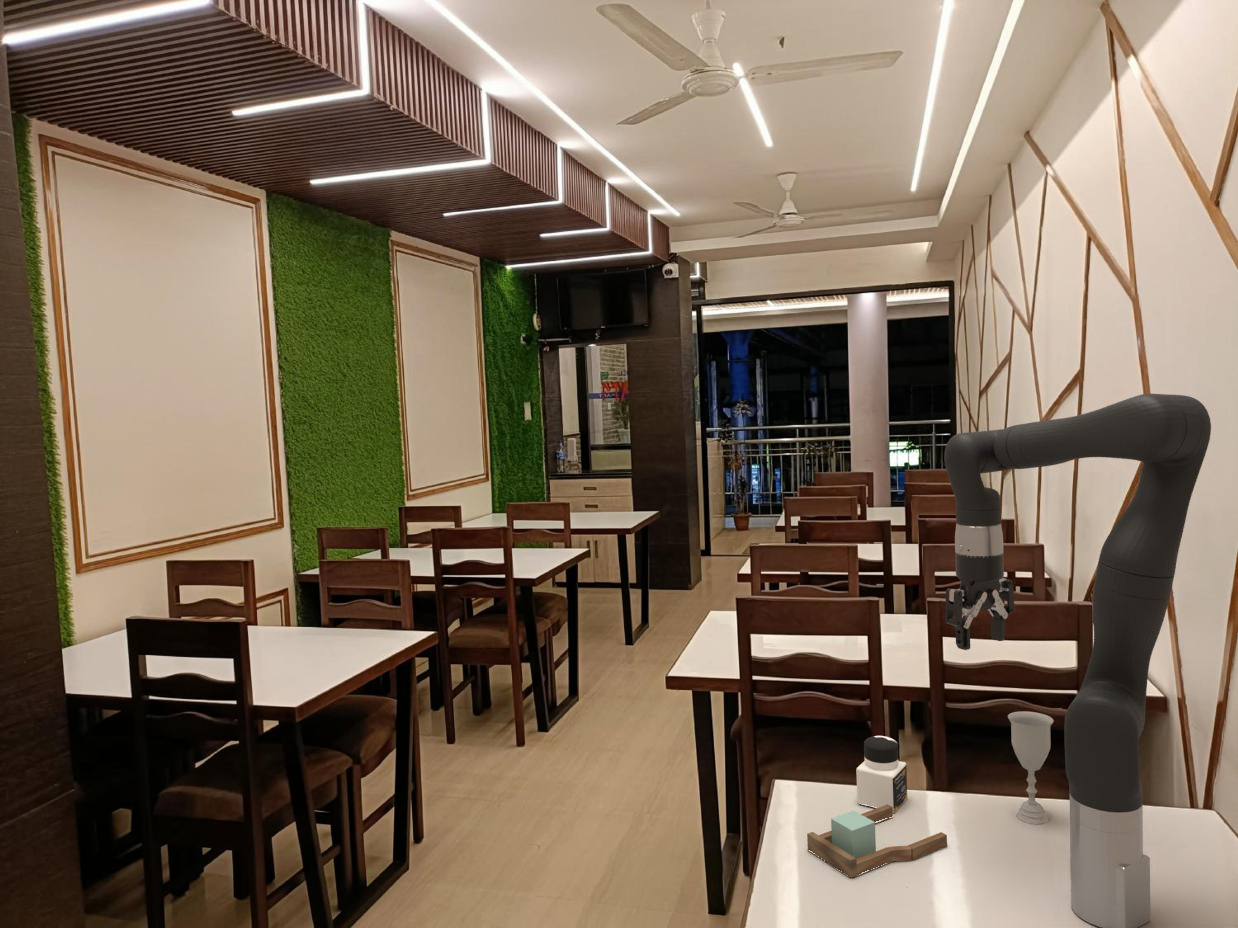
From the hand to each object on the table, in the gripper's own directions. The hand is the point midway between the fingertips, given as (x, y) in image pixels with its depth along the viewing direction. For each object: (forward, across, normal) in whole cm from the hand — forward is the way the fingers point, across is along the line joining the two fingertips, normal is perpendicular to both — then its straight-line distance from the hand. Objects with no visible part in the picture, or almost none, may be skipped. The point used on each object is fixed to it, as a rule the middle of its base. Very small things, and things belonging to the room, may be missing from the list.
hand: (981, 644), depth 150 cm
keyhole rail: (+33, -19, +7) cm, 39 cm away
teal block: (+33, -24, +7) cm, 41 cm away
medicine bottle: (+33, -6, +18) cm, 38 cm away
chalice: (+33, +11, -1) cm, 35 cm away
